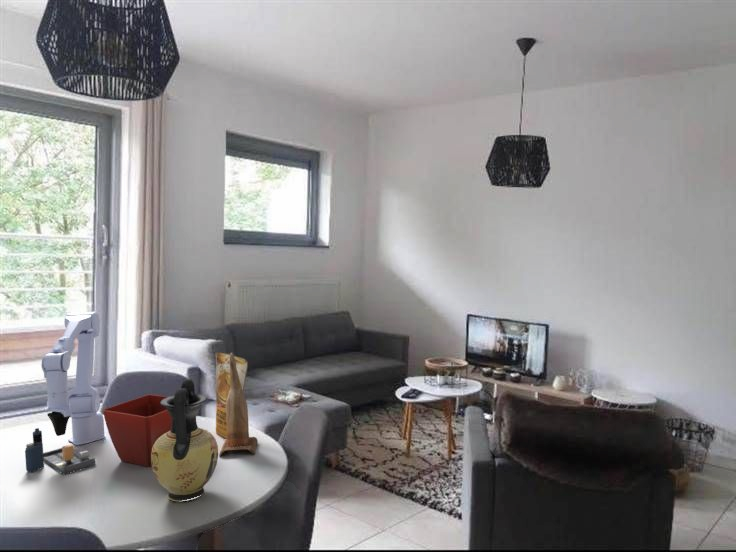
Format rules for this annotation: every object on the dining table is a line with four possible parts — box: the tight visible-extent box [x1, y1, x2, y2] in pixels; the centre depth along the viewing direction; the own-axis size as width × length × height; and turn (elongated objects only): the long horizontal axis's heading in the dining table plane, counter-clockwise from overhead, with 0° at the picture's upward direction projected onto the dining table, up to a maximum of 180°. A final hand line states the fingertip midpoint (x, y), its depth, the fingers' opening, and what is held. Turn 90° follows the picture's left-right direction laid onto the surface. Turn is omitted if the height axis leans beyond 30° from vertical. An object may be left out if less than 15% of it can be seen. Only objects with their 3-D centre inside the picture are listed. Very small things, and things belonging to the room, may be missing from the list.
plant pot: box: [102, 394, 172, 468], centre depth 177 cm, size 19×19×17 cm
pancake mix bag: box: [214, 352, 249, 440], centre depth 195 cm, size 7×19×28 cm, turn 41°
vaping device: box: [24, 428, 45, 473], centre depth 170 cm, size 3×5×12 cm, turn 161°
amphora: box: [151, 378, 219, 502], centre depth 149 cm, size 18×17×30 cm
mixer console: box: [43, 447, 96, 475], centre depth 175 cm, size 9×18×4 cm, turn 48°
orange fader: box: [61, 443, 75, 463], centre depth 172 cm, size 3×2×5 cm
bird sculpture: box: [218, 352, 259, 458], centre depth 181 cm, size 11×12×32 cm
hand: (60, 434), depth 175 cm, fingers closed
